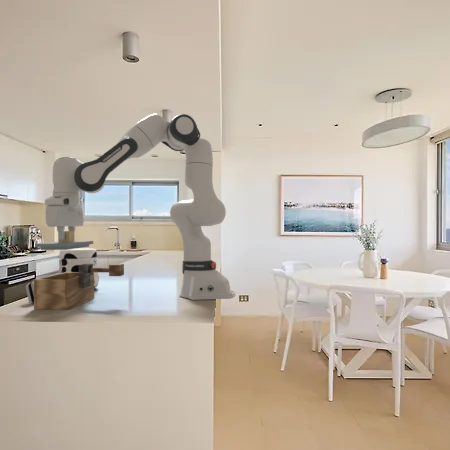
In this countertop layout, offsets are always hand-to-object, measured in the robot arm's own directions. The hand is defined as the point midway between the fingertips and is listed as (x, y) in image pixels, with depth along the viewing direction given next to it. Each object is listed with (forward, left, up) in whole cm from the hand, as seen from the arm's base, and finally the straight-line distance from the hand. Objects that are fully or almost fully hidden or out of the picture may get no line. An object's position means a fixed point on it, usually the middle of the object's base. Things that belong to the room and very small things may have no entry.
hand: (66, 239), depth 130 cm
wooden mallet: (-15, 0, -13) cm, 20 cm away
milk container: (+9, -27, -24) cm, 37 cm away
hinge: (+12, -6, -24) cm, 27 cm away
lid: (0, 0, -3) cm, 3 cm away
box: (-1, 0, -23) cm, 24 cm away
